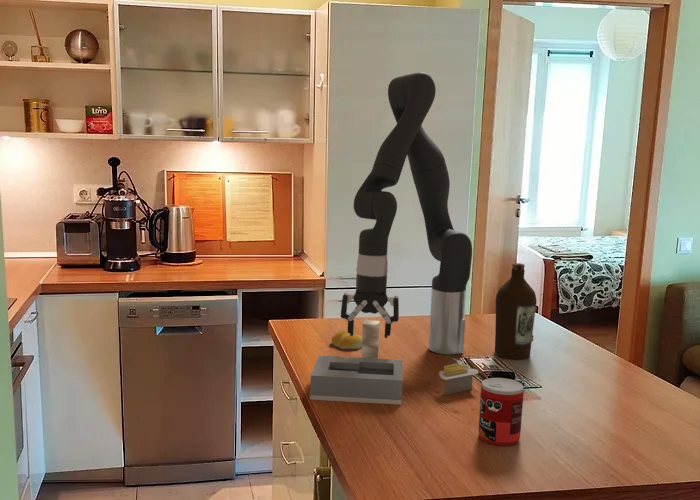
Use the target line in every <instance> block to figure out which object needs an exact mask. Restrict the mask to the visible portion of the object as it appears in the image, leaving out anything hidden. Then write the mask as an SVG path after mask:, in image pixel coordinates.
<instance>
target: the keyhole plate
mask: <svg viewBox="0 0 700 500" xmlns="http://www.w3.org/2000/svg"><path fill="white" fill-rule="evenodd" d="M403 361H404V360H403V359H395V358H394V359H393V358H378V359H377V358H362V357H359V356H358V357H356V356H354V357H353V356H336V355H318V356H317V358H316V361H315V364H314V366H313V370H312V371H311V374H310V389H309V390H310V392H309V396H310V397H309V399H310V400H313V401H329V402H330V401H331V402H333V401H334V402H347V403H349V402H351V403H362V404H363V403H365V404H379V405H380V404H383V405H384V404H385V405H399V406H400V405H402V402H403V400H402V399H403V382H404V379H403V365H404V364H403Z"/></svg>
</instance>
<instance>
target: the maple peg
mask: <svg viewBox="0 0 700 500" xmlns="http://www.w3.org/2000/svg"><path fill="white" fill-rule="evenodd" d="M362 321H363V322H362V331H361V333H362V334H361V337H362V347H361V358H377V359H379V351H380V350H379V345H380V343H379V342H380V320H373V319H372V320H369V319H368V320H367V319H364V320H362Z"/></svg>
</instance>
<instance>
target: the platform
mask: <svg viewBox="0 0 700 500" xmlns="http://www.w3.org/2000/svg"><path fill="white" fill-rule="evenodd" d="M443 367H444V369H443V370H440V371H438V375H439V377H440V378H441V379H442V380H444V396H446V395H450V394H456V393H460V392H467V391H471V390H472V389H473V378H474V377H473V376H474V375H477V374H479V370H478V369H476V368H469V366H468V364H466V365H465V364H464V362H459V363H455V364H454V363H453V364H449V365H444V366H443Z"/></svg>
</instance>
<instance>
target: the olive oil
mask: <svg viewBox="0 0 700 500" xmlns="http://www.w3.org/2000/svg"><path fill="white" fill-rule="evenodd" d="M511 265H512V267H511V276H510V278H509V279H508V280H507V281H505V283H503V284H502V285H501V287H499V288H498V290H497V292H496V296H495V328H494V329H495V330H494V334H495V337H494V354H495V355H496V356H498V357H501V358H503V359H509V360H526V359H529V358H530V357H531V348H532V343H533V341H534V334H533V332H534V325H535V317H536V310H537V296H536V295H537V294H536V293H535V290H534V289H533V288H532V287H531V285H530V284H529V283H528V282H527V281H526V279H525V264H524V263H520V262H519V263H518V262H516V263H515V262H514V263H512V264H511Z"/></svg>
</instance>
